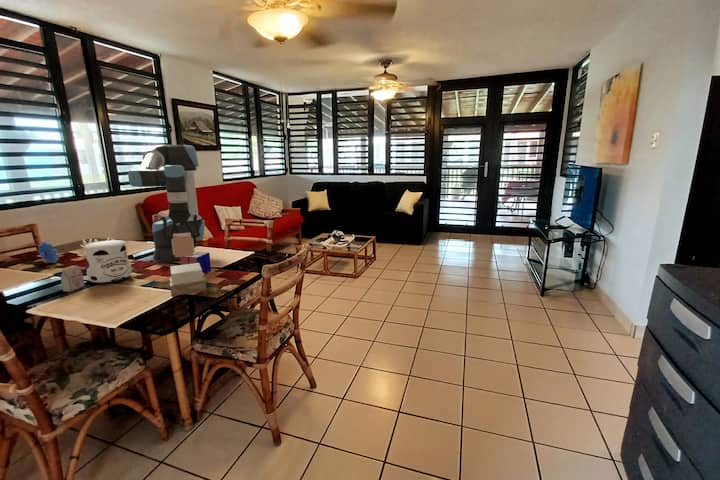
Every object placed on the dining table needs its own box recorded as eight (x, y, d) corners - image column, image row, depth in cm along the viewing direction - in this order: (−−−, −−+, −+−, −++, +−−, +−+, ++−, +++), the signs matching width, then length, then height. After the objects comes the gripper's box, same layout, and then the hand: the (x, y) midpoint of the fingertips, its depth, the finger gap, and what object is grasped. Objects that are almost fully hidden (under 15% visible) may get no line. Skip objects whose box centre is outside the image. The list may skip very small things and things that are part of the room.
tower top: (171, 276, 154) (170, 266, 153) (200, 272, 160) (199, 262, 159) (172, 285, 144) (171, 274, 143) (202, 280, 150) (201, 269, 149)
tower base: (171, 286, 156) (169, 276, 155) (203, 281, 163) (202, 271, 162) (171, 297, 144) (170, 286, 143) (206, 291, 151) (205, 280, 150)
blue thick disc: (33, 264, 183) (28, 243, 180) (46, 261, 189) (42, 240, 186) (50, 266, 181) (45, 244, 178) (63, 262, 187) (59, 241, 184)
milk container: (119, 286, 154) (113, 248, 150) (79, 286, 153) (72, 248, 149) (140, 273, 171) (135, 239, 167) (104, 274, 170) (98, 239, 165)
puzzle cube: (199, 276, 168) (197, 257, 166) (181, 275, 170) (179, 256, 167) (211, 270, 177) (209, 252, 175) (194, 269, 179) (192, 251, 177)
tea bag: (63, 291, 148) (58, 269, 145) (77, 285, 154) (73, 265, 152) (70, 291, 147) (66, 270, 145) (84, 286, 154) (80, 265, 151)
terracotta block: (175, 253, 151) (172, 234, 149) (192, 251, 154) (190, 232, 152) (175, 257, 145) (172, 237, 143) (193, 255, 148) (191, 235, 146)
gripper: (150, 204, 136) (157, 258, 141) (204, 201, 146) (209, 252, 151) (151, 202, 142) (158, 253, 148) (202, 199, 152) (207, 248, 157)
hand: (183, 253), depth 149 cm, fingers closed on terracotta block, 7 cm apart
